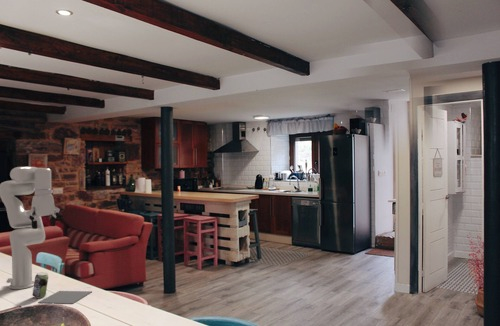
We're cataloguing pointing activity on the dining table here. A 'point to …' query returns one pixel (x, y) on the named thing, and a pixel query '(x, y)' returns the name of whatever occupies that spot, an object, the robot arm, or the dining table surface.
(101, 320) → the dining table surface
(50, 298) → the rubber mat
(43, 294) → the beverage can
